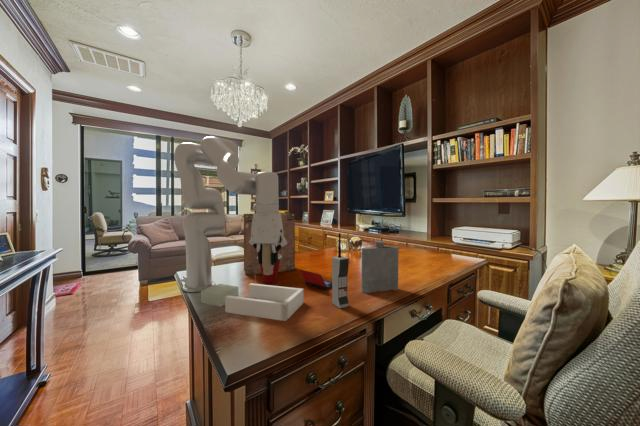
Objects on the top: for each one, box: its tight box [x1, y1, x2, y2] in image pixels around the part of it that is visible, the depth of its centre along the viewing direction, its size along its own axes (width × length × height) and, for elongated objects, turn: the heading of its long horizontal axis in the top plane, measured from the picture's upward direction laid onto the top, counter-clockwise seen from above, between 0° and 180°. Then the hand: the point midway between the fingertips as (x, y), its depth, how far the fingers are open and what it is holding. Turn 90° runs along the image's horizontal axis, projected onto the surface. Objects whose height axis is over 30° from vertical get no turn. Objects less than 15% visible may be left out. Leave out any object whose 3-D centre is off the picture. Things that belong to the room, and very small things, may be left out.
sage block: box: [200, 283, 240, 307], centre depth 94 cm, size 9×9×4 cm
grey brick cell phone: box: [331, 233, 350, 309], centre depth 88 cm, size 4×5×25 cm
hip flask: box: [360, 240, 400, 294], centre depth 104 cm, size 16×4×20 cm, turn 104°
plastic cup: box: [257, 254, 282, 285], centre depth 115 cm, size 11×11×12 cm
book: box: [243, 212, 296, 276], centre depth 134 cm, size 25×9×30 cm, turn 109°
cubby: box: [224, 282, 305, 322], centre depth 87 cm, size 22×15×5 cm
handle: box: [262, 244, 274, 275], centre depth 86 cm, size 5×6×15 cm
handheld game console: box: [299, 269, 332, 291], centre depth 110 cm, size 12×11×7 cm
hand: (268, 263), depth 86 cm, fingers closed on handle, 4 cm apart
